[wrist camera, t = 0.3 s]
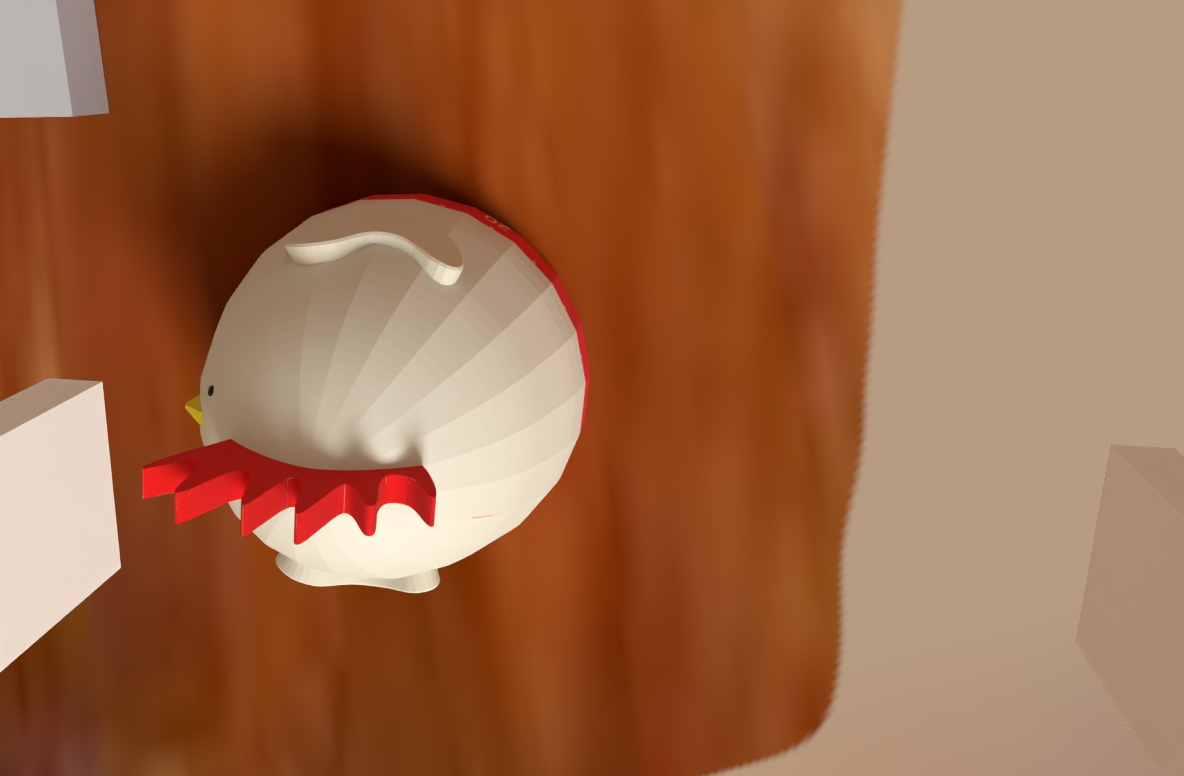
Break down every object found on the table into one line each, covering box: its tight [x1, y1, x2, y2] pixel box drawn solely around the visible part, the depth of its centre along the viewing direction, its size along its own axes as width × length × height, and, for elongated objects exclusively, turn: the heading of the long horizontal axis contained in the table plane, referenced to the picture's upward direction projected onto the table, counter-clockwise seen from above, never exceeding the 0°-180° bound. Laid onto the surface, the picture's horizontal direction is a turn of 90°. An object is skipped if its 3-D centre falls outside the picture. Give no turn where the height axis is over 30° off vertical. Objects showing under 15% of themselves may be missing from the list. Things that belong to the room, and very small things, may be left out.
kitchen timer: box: [142, 194, 590, 593], centre depth 37 cm, size 14×14×15 cm
